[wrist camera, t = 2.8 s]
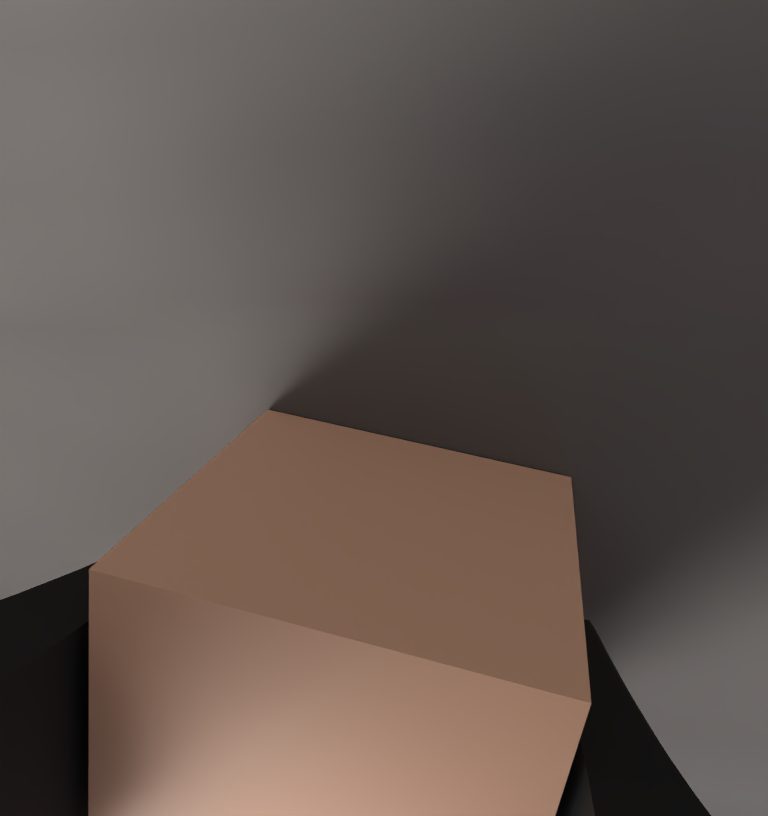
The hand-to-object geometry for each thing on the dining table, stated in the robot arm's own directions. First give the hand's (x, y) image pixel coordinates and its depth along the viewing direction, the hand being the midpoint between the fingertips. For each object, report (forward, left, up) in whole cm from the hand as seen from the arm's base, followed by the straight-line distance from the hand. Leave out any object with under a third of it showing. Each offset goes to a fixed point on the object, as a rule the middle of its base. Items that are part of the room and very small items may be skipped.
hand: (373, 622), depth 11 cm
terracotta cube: (0, 0, -1) cm, 1 cm away
